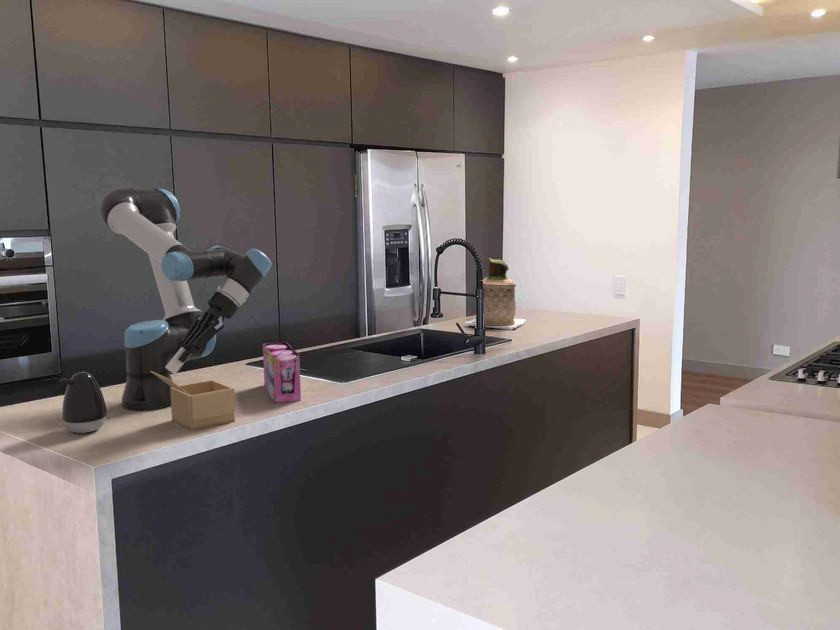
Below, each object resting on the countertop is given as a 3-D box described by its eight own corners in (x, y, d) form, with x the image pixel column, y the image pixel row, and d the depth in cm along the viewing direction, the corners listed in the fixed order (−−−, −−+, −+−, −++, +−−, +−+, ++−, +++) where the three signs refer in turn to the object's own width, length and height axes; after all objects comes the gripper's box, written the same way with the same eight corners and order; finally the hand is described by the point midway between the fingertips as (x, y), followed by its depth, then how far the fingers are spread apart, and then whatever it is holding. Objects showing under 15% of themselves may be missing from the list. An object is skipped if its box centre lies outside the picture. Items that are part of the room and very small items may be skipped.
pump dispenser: (56, 431, 181) (51, 372, 178) (97, 421, 188) (93, 365, 186) (72, 439, 174) (67, 379, 171) (114, 430, 181) (110, 371, 179)
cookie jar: (515, 330, 326) (516, 260, 321) (463, 327, 334) (464, 259, 329) (526, 322, 348) (528, 256, 344) (478, 319, 357) (479, 255, 352)
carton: (171, 419, 190) (169, 386, 189) (215, 411, 198) (213, 379, 197) (192, 431, 180) (190, 396, 179) (237, 421, 189) (235, 388, 187)
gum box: (302, 402, 208) (301, 356, 205) (275, 404, 205) (273, 358, 203) (288, 383, 230) (287, 341, 228) (263, 385, 227) (262, 343, 225)
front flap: (171, 385, 188) (170, 386, 188) (151, 370, 184) (150, 371, 184) (189, 393, 180) (188, 394, 180) (168, 378, 176) (167, 379, 175)
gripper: (248, 310, 186) (191, 383, 178) (226, 305, 196) (171, 374, 188) (228, 292, 182) (168, 366, 174) (207, 288, 192) (149, 358, 184)
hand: (170, 370), depth 181 cm, fingers closed
